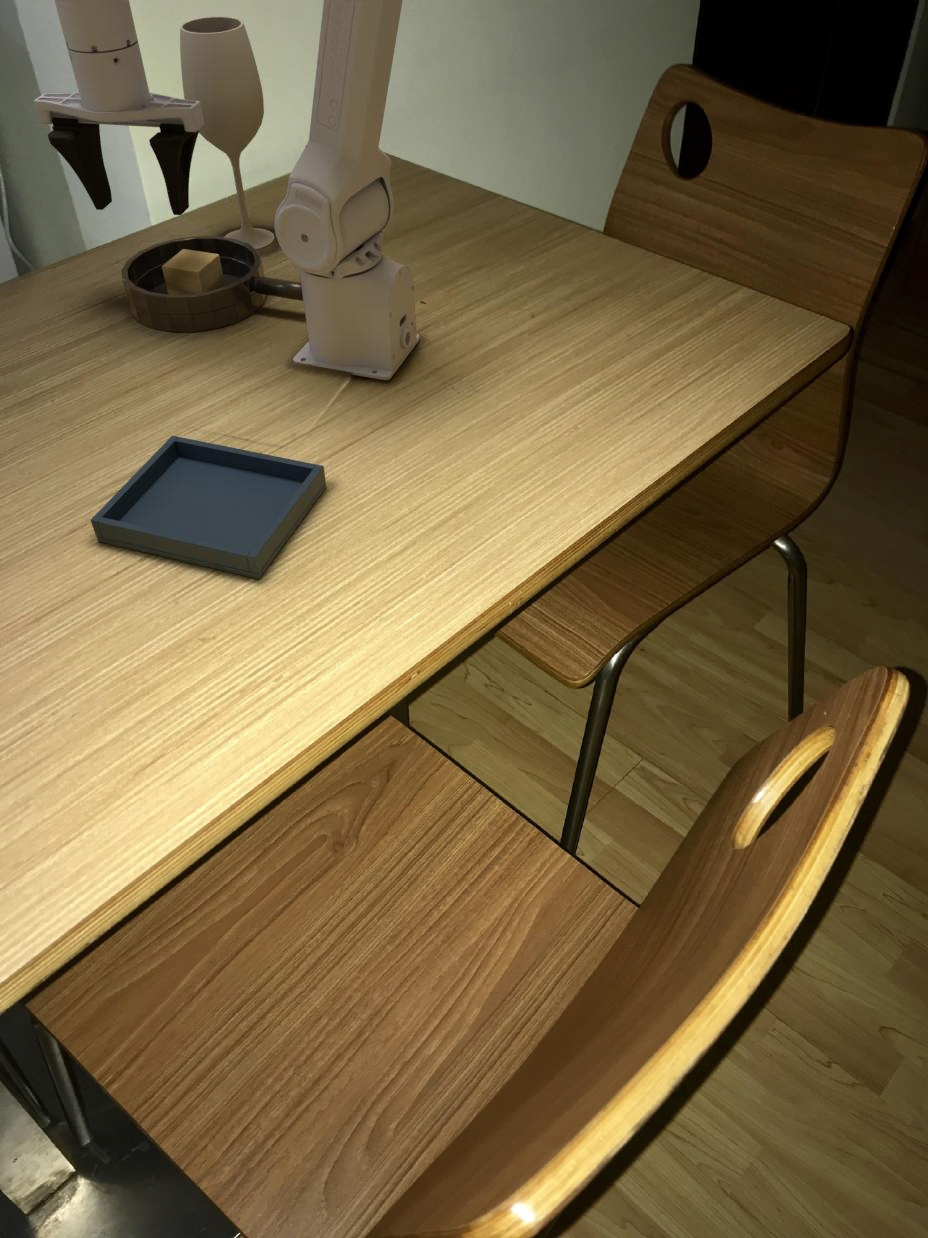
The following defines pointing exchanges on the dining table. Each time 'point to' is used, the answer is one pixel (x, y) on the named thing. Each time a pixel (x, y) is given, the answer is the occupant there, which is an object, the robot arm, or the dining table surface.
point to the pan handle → (277, 288)
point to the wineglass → (225, 97)
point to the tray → (211, 506)
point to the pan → (199, 308)
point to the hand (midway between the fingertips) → (142, 207)
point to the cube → (193, 273)
